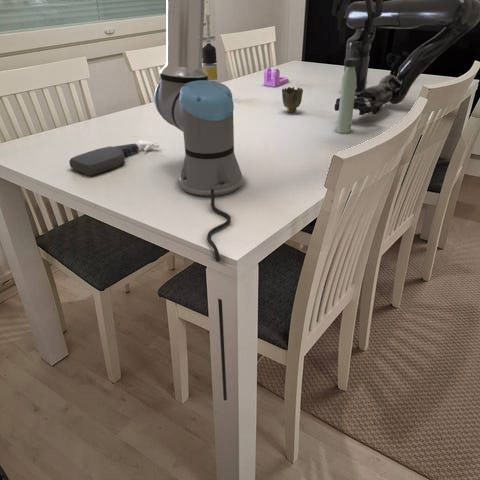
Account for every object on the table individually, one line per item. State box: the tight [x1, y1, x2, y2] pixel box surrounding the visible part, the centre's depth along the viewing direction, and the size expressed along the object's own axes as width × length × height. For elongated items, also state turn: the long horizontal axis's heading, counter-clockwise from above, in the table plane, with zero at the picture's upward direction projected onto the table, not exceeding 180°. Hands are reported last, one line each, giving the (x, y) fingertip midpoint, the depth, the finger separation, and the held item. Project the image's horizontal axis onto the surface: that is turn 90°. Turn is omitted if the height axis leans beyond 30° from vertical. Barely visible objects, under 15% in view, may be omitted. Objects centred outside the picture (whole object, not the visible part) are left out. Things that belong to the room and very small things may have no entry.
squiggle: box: [385, 51, 411, 82], centre depth 198 cm, size 11×10×15 cm
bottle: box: [336, 67, 357, 134], centre depth 137 cm, size 4×4×21 cm
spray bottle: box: [68, 139, 160, 177], centre depth 124 cm, size 3×11×24 cm
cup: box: [281, 86, 304, 114], centre depth 159 cm, size 8×7×8 cm
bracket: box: [263, 67, 289, 88], centre depth 197 cm, size 13×6×7 cm, turn 143°
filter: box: [202, 14, 218, 82], centre depth 171 cm, size 6×6×30 cm
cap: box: [343, 57, 358, 68], centre depth 131 cm, size 4×4×2 cm
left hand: (353, 43), depth 129 cm, fingers open, 6 cm apart
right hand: (348, 109), depth 140 cm, fingers open, 8 cm apart
